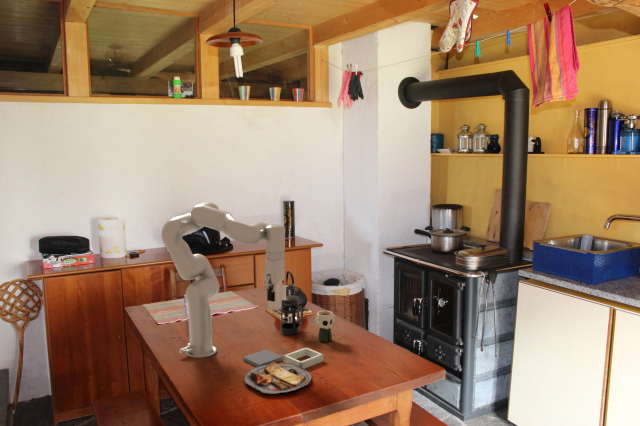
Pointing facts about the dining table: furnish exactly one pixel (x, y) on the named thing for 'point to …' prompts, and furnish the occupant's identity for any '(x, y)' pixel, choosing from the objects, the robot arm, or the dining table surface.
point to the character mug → (325, 325)
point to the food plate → (277, 377)
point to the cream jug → (278, 296)
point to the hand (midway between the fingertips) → (274, 298)
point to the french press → (290, 321)
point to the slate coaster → (262, 358)
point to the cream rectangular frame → (292, 357)
